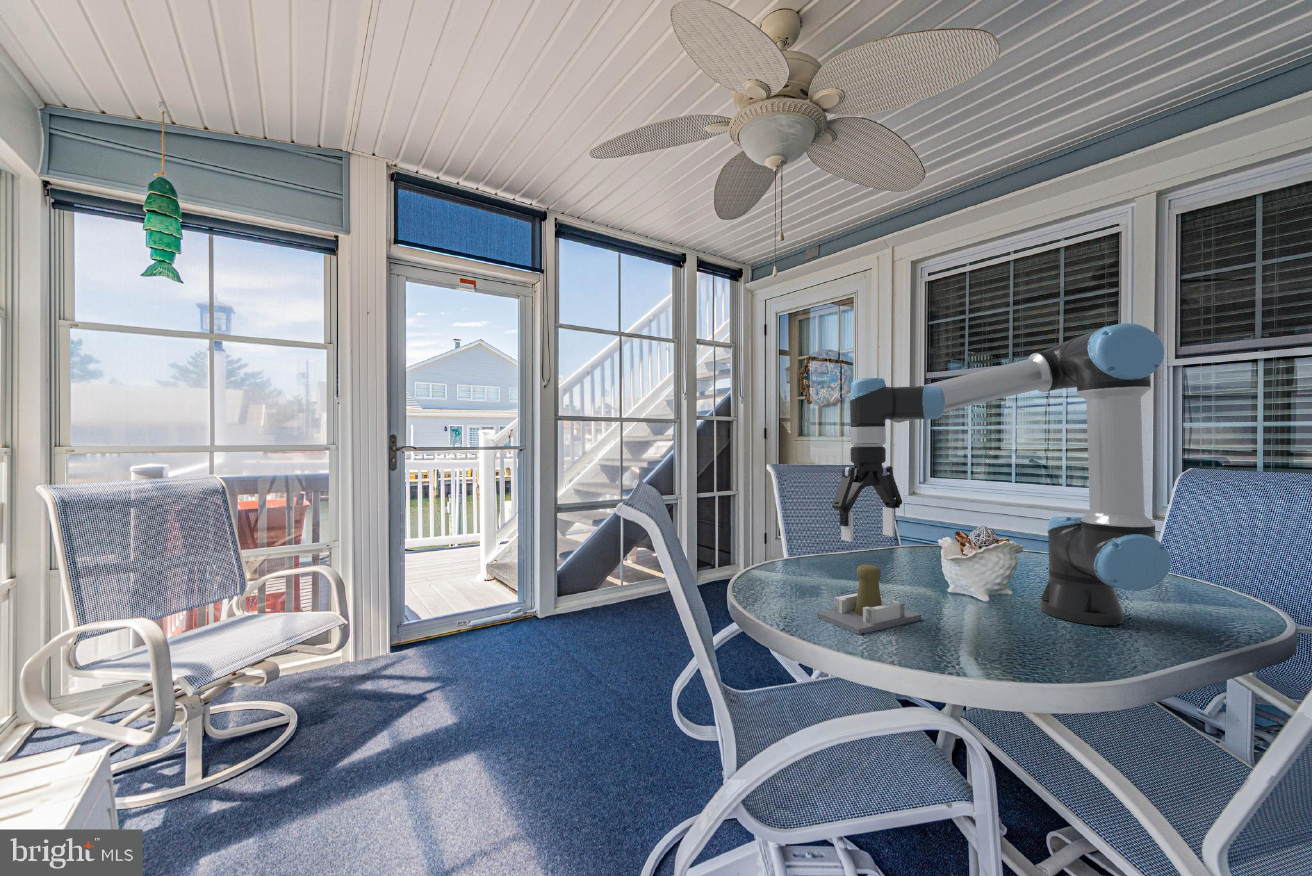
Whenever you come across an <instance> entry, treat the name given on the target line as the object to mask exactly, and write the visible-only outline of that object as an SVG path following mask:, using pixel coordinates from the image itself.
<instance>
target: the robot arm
mask: <svg viewBox="0 0 1312 876" xmlns="http://www.w3.org/2000/svg"><path fill="white" fill-rule="evenodd" d="M1164 358H1165V348H1164V345H1163V342H1162V340H1161V338H1160V337H1159V336H1158V335H1157V334H1156V333H1155V332H1154V331H1152V330H1151V329H1149V328H1148V327H1146V326H1144V325H1142V324H1138V323H1137V324H1136V323H1128V322H1125V323H1118V324H1113V325H1106V326H1103V327H1100V328H1099V329H1097V330H1094V331H1091V332H1089V333H1085V334H1083V335H1079V336H1077V337H1074V338H1071V339H1070V340H1067V341H1065V342H1063V343H1061V344H1058V345H1056V346H1055V345H1054V346H1053V347H1051V348H1048V349H1045V350H1041V351H1037V352H1034V353H1032V354H1030V355H1029V356H1028V358H1027V359H1024V360H1019V361H1015V362H1012V363H1007V364H1004V365H1000V366H999V365H998V366H996V367H992V368H988V369H983V370H980V371H979V370H978V371H977V372H972V373H971V372H970V373H967V374H965V375H964V374H963V375H960V376H956V377H952V378H948V379H944V380H940V381H937V382H932V383H929V384H924V385H920V386H919V385H918V386H912V385H911V386H887V384H886V381H885V379H884V378H882V377H864V378H857V379H854V380H853V381H852V382H851V384H850V398H849V409H850V410H849V412H850V413H849V417H850V421H849V423H850V424H849V425H850V445H853V446H851V448H849V449H850V450H849V451H850V462H851V463H853V465H852V467H851V466H850V467H849V466H848V467H845V466H843V468H842V472H841V478H840V482H839V485H838V488H837V490H836V492H835V496H834V499H833V502H832V504H831V507H832V508H833V509H834V510H835V511H838V513H839V525H840V529H841V530H840V532H841V533H840V536H841V537H840V538H841V539H840V540H841V541H845V542H850V543H851V542H854V512H853V511H851V509H852V508H853V506H854V504H855V502H856V501H857V499H858V498H859V495H860V494H861V492H862V490H864V489H865V488H866V487H867V488H868V487H869V488H870V487H873V488H874V490H875V491H876V493H877V494H878V497H879V498H880V499H881V501H882V503H883V504H884V506H885V507H884V506H883V507H882V535H883V536H888V537H895V536H896V530H895V529H896V527H895V526H896V524H895V523H896V509H900V507H901V505H902V504H903V499H902V496H901V493H900V491H899V488H898V486H897V482H896V480H895V477H894V471H893V466H892V465H891V466H890V465H883V464H884V463H886V461H887V457H886V455H887V453H886V452H887V451H886V449H887V448H885V446H884V445H885V444H886V443H887V438H886V435H887V434H886V420H889V421H890V422H894V423H904V422H909V421H915V420H918V421H919V420H925V421H927V420H938V419H940V418H941V417H942V416H943V414H944V412H948V411H952V410H956V409H961V408H966V407H969V406H973V405H978V404H983V403H987V402H991V401H994V400H1000V399H1003V398H1007V397H1011V396H1016V395H1021V394H1025V393H1028V392H1032V391H1038V392H1039V393H1047V392H1051V391H1057V390H1063V389H1065V390H1066V389H1071V388H1073V389H1074V388H1076V392H1077V395H1079V396H1080V397H1082V398H1083V399H1084V400H1085V401H1086V425H1087V426H1086V428H1087V431H1086V433H1087V459H1088V461H1087V464H1088V465H1087V466H1088V486H1089V487H1088V492H1089V493H1088V494H1089V512H1088V513H1087V514H1085V515H1084V516H1053V517H1051V518H1050V519H1049V521H1048V528H1047V534H1048V537H1047V538H1048V579H1047V582H1046V584H1045V587H1044V589H1043V592H1042V594H1041V597H1040V600H1039V609H1040V610H1041V612H1043V613H1044V614H1046V615H1049V616H1051V617H1053V618H1057V619H1061V620H1064V621H1069V622H1074V623H1078V624H1083V625H1085V624H1086V625H1091V624H1093V626H1102V625H1107V626H1108V625H1109V627H1111V626H1110V625H1113V626H1116V625H1115V624H1120V623H1122V624H1124V622H1123V621H1124V610H1123V607H1122V605H1121V603H1120V600H1119V598H1118V595H1117V593H1116V590H1115V588H1117V589H1120V590H1124V591H1132V592H1139V591H1146V590H1148V589H1152V588H1154V587H1155V586H1157V585H1158V584H1159V583H1161V582H1163V580H1165V578H1166V577H1167V575H1169V572H1170V570H1171V563H1172V562H1171V561H1172V560H1171V556H1170V553H1169V551H1168V549H1167V547H1165V545H1163V544H1162V543H1161V542H1160V541H1159V540H1158V539H1156V537H1157V536H1156V523H1155V522H1154V521H1153V520H1151V519H1150V518H1149V517H1148V516H1146V514H1145V492H1144V491H1145V489H1144V461H1143V460H1144V459H1143V456H1144V455H1143V429H1142V427H1143V423H1142V397H1143V396H1144V395H1145V394H1146V393H1148V392H1149V391H1150V390H1152V389H1151V388H1152V386H1151V385H1152V384H1151V383H1152V382H1151V381H1152V379H1151V375H1152V374H1153V373H1155V372H1156V370H1157V369H1158V368H1159V367H1160V366H1161V365H1162V364H1163V361H1164ZM1120 625H1121V624H1120ZM1107 626H1106V627H1107Z"/></svg>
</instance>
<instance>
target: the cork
mask: <svg viewBox="0 0 1312 876" xmlns="http://www.w3.org/2000/svg"><path fill="white" fill-rule="evenodd" d="M856 575H857V578H858V579H859V580H858V581H859V582H858V586H857V588H858V589H857V593H858V594H857V601H856V609H855V613H856V614H858V615H860V616H863V607H870V608H871V607H876V606H881V605H882V603H881V602H882V598H881V589H880V583H879V581H880V580H881V577H882V572H881V569H880V568H879V567H878V566H876V565H872V564H860V565H858V567H857V568H856Z"/></svg>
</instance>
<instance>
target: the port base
mask: <svg viewBox="0 0 1312 876" xmlns="http://www.w3.org/2000/svg"><path fill="white" fill-rule="evenodd" d="M857 594H858V592H857V593H850V594H845V595H840V596H836V597H834V598H833V601H834V602H833V609H828V610H823V611H819V612H816V618H817V617H818V618H817V619H819V618H820V619H819V620H821V619H823V620H822V621H824V622H826V621H827V623H829V624H831V623H832V625H834V624H835V625H834V626H836V625H837V627H838V626H840V627H839V628H841V627H842V628H841V629H843V628H845V629H844V630H846V629H847V630H846V631H848V630H850V631H849V632H851V633H853V632H854V633H853V634H856V633H857V634H856V635H859V634H860V635H863V634H862V633H864V634H868V633H872V632H877V631H881V630H885V629H889V628H893V627H897V626H901V625H905V624H909V623H914V622H919V621H921V620H922V613H921V614H920V613H917V612H914V611H911V610H908V609H905V603H904V602H901V601H897V600H893V601H891V602H890V603H886V602H883V601H881V603H882V605H881V606H876V607H871V608H870V607H863V616H860V615H858V614H856V613H855V609H856V601H857ZM860 635H859V636H860Z"/></svg>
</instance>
